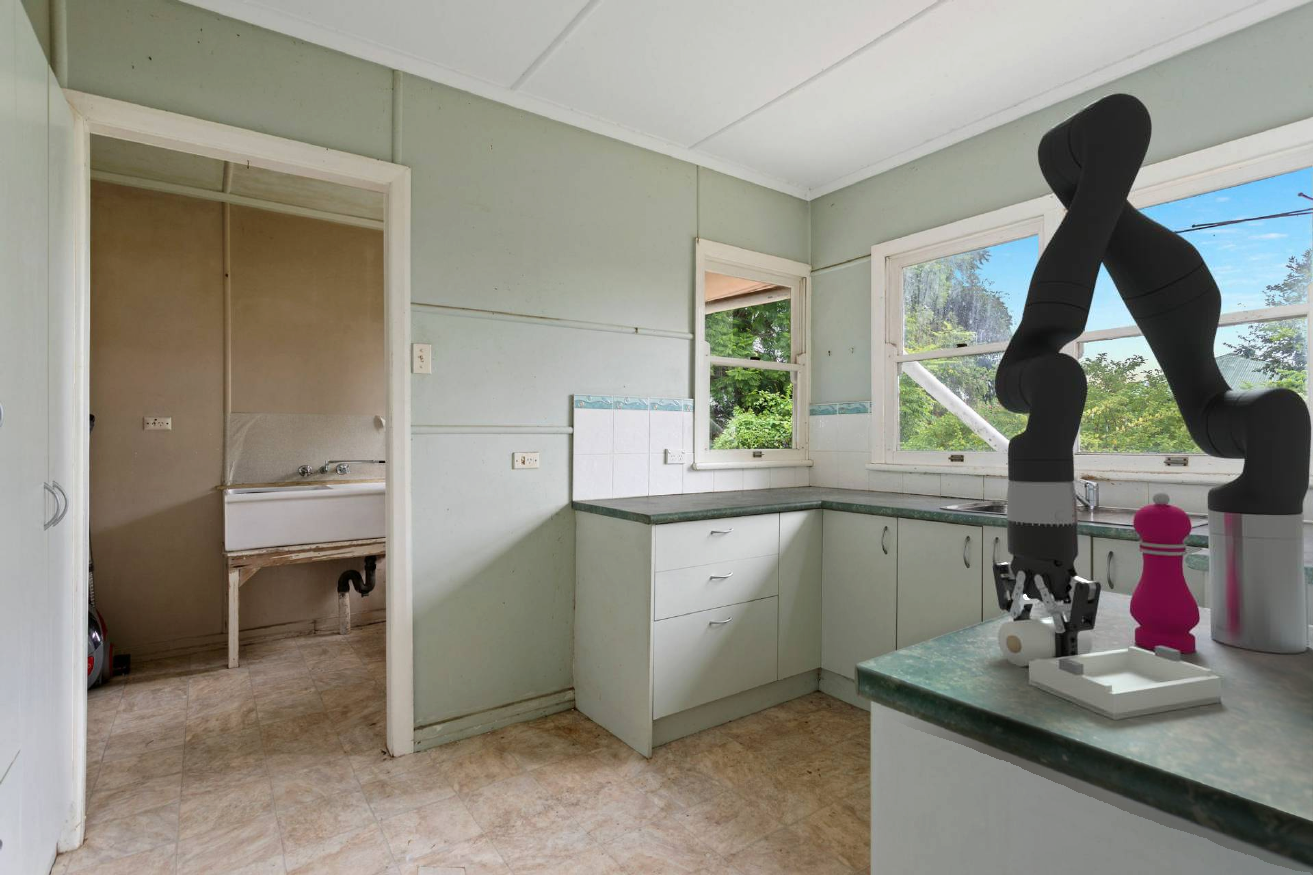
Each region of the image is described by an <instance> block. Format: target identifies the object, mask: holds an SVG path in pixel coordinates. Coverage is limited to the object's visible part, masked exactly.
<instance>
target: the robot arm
mask: <svg viewBox="0 0 1313 875" xmlns="http://www.w3.org/2000/svg"><path fill="white" fill-rule="evenodd" d="M1151 118H1152V117H1151V115H1150V113H1149V110H1148V108H1147V107H1146V106H1145V104H1144V103H1143V102H1142V101H1141V100H1140V99H1139V98H1137V97H1136V96H1134V95H1131V94H1129V93H1124V92H1115V93H1112V94H1108V95H1105V96H1103V97H1101V98H1099V99H1096V100H1095V101H1092V102H1091V103H1089V104H1088V105H1087V104H1086V106H1085V107H1083V108H1081V109H1079V110H1078V111H1076V112H1075V113H1073V114H1071V115H1070V116H1069V117H1067V118H1065V119H1064V120H1062V121H1060V122H1059V123H1057V124H1055V125H1054V126H1053V127H1051V128H1050V129H1049V130H1048V131H1046V132H1045V133H1044V134H1043V136H1042V138H1041V139H1040V140H1039V141H1040V142H1039V144H1038V147H1037V158H1038V159H1037V160H1038V161H1037V162H1038V165H1039V169H1040V171H1041V174H1042V176H1043V178H1044V180H1045V181H1046V183H1047V184H1048V186H1049V188H1050V189H1051V190H1052V192H1053V193H1054V195H1055V196H1056V198H1057V199H1058V201H1059V202H1060V204H1062V206H1063V207H1064V209H1065V210H1066V213H1065V215H1064V216H1063V219H1062V221H1061V222H1060V224H1059V226H1058V227H1057V229H1056V230H1055V232H1054V234H1053V235H1052V237H1051V238H1050V239H1049V242H1048V243H1047V245H1046V246H1045V248H1044V250H1043V252H1042V254H1041V255H1040V256H1039V259H1038V261H1037V264H1036V265H1035V268H1034V270H1033V273H1032V276H1031V280H1030V283H1029V286H1028V290H1027V294H1026V300H1025V303H1024V306H1023V307H1024V308H1023V310H1022V317H1021V321H1020V323H1019V325H1017V326H1018V327H1017V328H1016V330H1015V332H1014V333H1013V335H1012V337H1011V339H1010V341H1009V343H1008V345H1007V347H1006V349H1005V350H1004V353H1003V355H1002V357H1001V359H1000V361H999V363H998V365H997V369H996V372H995V377H994V392H995V397H996V399H997V401H998V402H999V404H1000V406H1002V408H1004V409H1005V410H1006V411H1008V412H1010V413H1013V414H1019V415H1020V414H1021V415H1026V414H1027V415H1028V420H1027V424H1026V427H1025V430H1024V431H1022V432H1020V433H1018V434H1016V435H1014V436H1013V437H1011V438H1010V439H1009V441H1008V446H1007V447H1008V448H1007V471H1008V472H1007V477H1008V481H1007V484H1008V486H1007V493H1006V534H1007V535H1006V536H1007V541H1006V542H1007V551H1008V553H1009V554H1010V555H1011V556H1012V560H1011V562H998V563H994V564H993V565H992V571H993V579H994V584H995V589H996V595H997V601H998V607H999V609H1000V610H1002V611H1006V612H1008V613H1009V616H1010V617H1011V618H1012V619H1013V620H1012V621H1021V620H1029V619H1032V618H1031V617H1032V616H1033V614H1034V611H1035V608H1036V605H1037V604H1038V603H1039V602H1041V603H1043V605H1044V607H1045V610H1046V613H1048V614H1049V615H1051V617H1052V618H1053V621H1054V624H1055V627H1056V630H1057V631H1058V632H1055V651H1056V658H1059V657H1066V656H1074V655H1078V648H1077V647H1078V639H1077V635H1078V633H1079V632H1080V631H1086V630H1089V631H1092V630H1094V629H1095V624H1096V620H1097V619H1096V618H1097V615H1098V607H1099V601H1100V598H1101V597H1100V596H1101V590H1102V584H1101V582H1099V581H1098V580H1087V579H1084V578H1082V577H1080V576H1079V575H1078V573H1077V571H1076V568H1075V560H1076V558H1077V557H1078V556H1079V530H1078V529H1079V523H1078V498H1077V497H1078V496H1077V492H1076V488H1075V487H1076V486H1075V464H1074V463H1075V462H1074V461H1075V460H1074V459H1075V458H1074V446H1075V443H1076V440H1077V436H1078V433H1079V430H1080V426H1081V422H1082V418H1083V414H1084V409H1085V406H1086V402H1087V396H1088V380H1087V376H1086V373H1085V370H1084V368H1083V367H1082V365H1081V364H1080V362H1079V361H1078V360H1077V359H1076V358H1075V357H1073V356H1072V355H1070V354H1067V353H1065V352H1064V353H1063V352H1061V350H1062V349H1063V348H1064V347H1065V346H1066V345H1067V344H1069V343H1071V342H1073V341H1075V340H1076V339H1078V338H1079V337H1080V336H1081V335H1083V333H1084V331H1085V328H1086V326H1087V322H1088V320H1089V318H1088V317H1089V314H1090V310H1091V307H1092V302H1093V297H1094V294H1095V290H1096V285H1097V280H1098V276H1099V273H1100V269H1101V266H1102V265H1103V266H1104V268H1105V270H1106V272H1107V273H1108V275H1109V277H1110V279H1111V280H1112V282H1113V284H1114V286H1115V288H1116V291H1117V292H1118V294H1119V296H1120V298H1121V299H1122V301H1123V303H1124V305H1125V307H1126V309H1127V311H1128V312H1129V314H1130V316H1131V317H1132V319H1133V321H1134V323H1135V324H1136V325H1137V327H1138V328H1139V330H1140V332H1141V333H1142V335H1143V336H1144V338H1145V341H1146V342H1147V345H1148V346H1149V348H1150V350H1151V351H1152V353H1153V355H1154V358H1155V359H1156V362H1157V363H1158V365H1159V366H1160V369H1161V371H1162V373H1163V375H1164V377H1165V380H1166V381H1167V383H1168V385H1169V388H1170V391H1171V393H1172V395H1173V398H1174V400H1175V402H1176V406H1177V408H1178V411H1179V412H1180V415H1181V418H1182V420H1183V423H1184V424H1185V427H1186V429H1187V432H1188V434H1189V436H1190V438H1192V440H1193V441H1194V443H1195V445H1196V446H1197V447H1198V448H1199V449H1200V450H1201V451H1202V452H1203V453H1205V454H1206V455H1208V456H1210V457H1214V458H1218V459H1226V460H1228V459H1229V460H1231V459H1232V460H1233V459H1235V460H1244V461H1243V462H1244V463H1243V468H1242V472H1241V474H1240V475H1239V476H1238V477H1237V478H1235V479H1234V480H1232V481H1231V480H1230V482H1227V483H1223V484H1220V485H1217V486H1215V487H1212V488H1210V489H1209V490H1208V492H1207V527H1208V528H1207V531H1208V533H1207V534H1208V565H1209V566H1208V568H1209V569H1208V570H1209V572H1208V573H1209V576H1208V577H1209V613H1210V616H1209V618H1210V637H1211V638H1212V639H1213V640H1215V641H1217V642H1220V643H1223V644H1225V645H1229V646H1233V647H1237V648H1242V649H1246V650H1251V651H1258V652H1266V653H1279V654H1298V653H1303V652H1306V651H1307V647H1308V646H1310V626H1309V625H1310V624H1309V591H1308V590H1309V589H1308V588H1309V585H1308V584H1309V583H1308V573H1307V572H1306V571H1305V546H1304V545H1305V544H1304V542H1305V541H1304V517H1303V516H1304V514H1303V512H1304V505H1303V504H1304V501H1305V498H1306V496H1307V493H1308V490H1309V485H1310V469H1311V467H1310V466H1311V450H1312V449H1311V448H1312V446H1311V445H1312V422H1311V421H1312V420H1311V419H1312V418H1311V416H1310V410H1309V408H1308V405H1307V403H1306V402H1305V400H1304V399H1303V398H1302V395H1300V393H1298V392H1296V391H1295V390H1293V389H1290V388H1287V387H1277V386H1275V387H1274V386H1273V387H1260V388H1257V387H1256V388H1247V389H1232V387H1231V386H1230V385H1229V384H1228V382H1227V380H1226V379H1225V377H1224V375H1223V374H1222V372H1221V370H1220V368H1219V365H1218V363H1217V361H1216V357H1215V348H1214V347H1215V340H1216V336H1217V332H1218V327H1219V322H1220V319H1221V318H1220V317H1221V312H1222V294H1221V291H1220V288H1219V286H1218V284H1217V282H1216V280H1215V278H1214V276H1213V275H1212V272H1211V271H1210V269H1209V267H1208V266H1207V264H1206V262H1205V260H1204V258H1203V256H1202V255H1201V253H1200V252H1199V250H1198V249H1197V248H1196V247H1195V246H1194V244H1192V243H1191V242H1189V241H1188V240H1187V239H1185V238H1184V237H1183V236H1181V234H1180V235H1179V233H1176V232H1175V231H1173V230H1171V229H1170V228H1168V227H1166V226H1164V225H1163V224H1162V223H1160V222H1157V221H1155V220H1154V219H1152V218H1150V217H1149V216H1147V215H1146V214H1144V213H1142V212H1141V211H1139V209H1137V208H1136V207H1135V206H1134V205H1133V204H1132V203H1131V202H1130V201H1129V200H1128V197H1129V195H1130V192H1131V189H1132V187H1133V185H1134V183H1135V181H1136V178H1137V176H1138V174H1139V172H1140V170H1141V167H1142V165H1143V162H1144V160H1145V157H1146V155H1147V153H1148V149H1149V146H1150V143H1151V138H1152V134H1153V133H1152V127H1153V126H1152V119H1151ZM1007 592H1008V593H1007ZM1008 595H1009V598H1008ZM1061 602H1063V603H1062V604H1058V603H1061ZM1064 616H1065V617H1066V620H1067V622H1065V619H1064Z"/></svg>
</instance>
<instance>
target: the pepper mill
mask: <svg viewBox="0 0 1313 875" xmlns="http://www.w3.org/2000/svg"><path fill="white" fill-rule="evenodd" d="M1170 500H1171V498H1170V495H1168V494H1167V493H1165V492H1164V491H1163V492H1162V491H1161V492H1160V491H1158V492H1156V493H1155V494H1153V496H1152V501H1153V503H1154V504H1148V505H1145V506H1143V507H1141V508H1140V509H1138V510H1137V512H1135V515H1134V517H1133V522H1132V523H1133V528H1134V531H1135V532H1136V533H1137V534H1138V536H1140V538H1141V540H1139V541H1138V542H1137V543H1138V545H1139V548H1138V551H1139V553H1142V561H1143V562H1142V563H1143V564H1142V565H1143V566H1142V573H1141V576H1140V578H1139V582H1138V583H1137V586H1135V590H1134V591H1133V593H1132V594H1131V598H1130V603H1129V613H1130V616H1131V617H1132V618H1133V619H1134V620H1135V621H1136V623H1137V624H1138V625H1139V626H1137V627H1136V628H1134V642H1135V643H1136V644H1137V645H1139V646H1140V647H1142V648H1146V649H1148V650H1151V651H1152V650H1153V651H1155V646H1165V647H1168V648H1172V649H1175V650H1179V651H1180V654H1189V653H1193V652H1195V651H1196V636H1195V635H1194V634H1192V633H1191V631H1192V630H1193V629H1194V628H1195V627H1196V626H1198V624H1199V622H1200V619H1201V615H1200V609H1199V606H1198V603H1197V601H1196V599H1195V598H1194V595H1193V594H1192V592H1191V590H1190V588H1189V586H1188V584H1187V582H1186V578H1185V575H1184V568H1183V561H1184V556H1185V555H1187V554H1188V551H1187V549H1186V548H1187V546H1188V544H1187V543H1185V542H1184V540H1185V539H1186V538H1187V537H1188V536H1189V535H1190V534H1191V532H1192V523H1191V522H1192V520H1191V518H1190V516H1189V515H1188V514H1187V512H1186V511H1185V510H1183V509H1182V508H1179V507H1177V506H1175V505H1171V504H1169V503H1170Z"/></svg>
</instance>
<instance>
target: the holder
mask: <svg viewBox="0 0 1313 875" xmlns="http://www.w3.org/2000/svg"><path fill="white" fill-rule="evenodd" d="M1028 677H1029V678H1028V679H1029V680H1028V682H1029V685H1030V686H1033V687H1035V688H1038V689H1039V690H1040V689H1041V690H1043V691H1045V692H1046V693H1049V694H1051V695H1054V696H1057V697H1059V698H1061V699H1064V700H1066V701H1069V703H1073V704H1075V705H1078V706H1080V707H1083V708H1085V709H1087V710H1090V711H1092V712H1094V713H1096V714H1099V715H1101V716H1104V717H1106V718H1108V719H1110V720H1113V721H1118V720H1122V719H1128V718H1129V719H1130V718H1134V717H1135V718H1136V717H1141V716H1146V715H1152V714H1153V715H1154V714H1158V713H1159V714H1160V713H1164V712H1169V711H1176V710H1182V709H1189V708H1193V707H1200V706H1205V705H1211V704H1216V703H1221V702H1222V686H1221V684H1222V683H1221V682H1222V681H1221V677H1220V676H1217V675H1214V674H1213V670H1212V669H1210V668H1207V667H1203V666H1200V665H1196V664H1193V663H1191V662H1186V661H1183V660H1181V653H1180V651H1179V650H1175V649H1172V648H1168V647H1165V646H1155V650H1154V652H1153V651H1152V650H1151V651H1150V650H1146V649H1143V648H1141V647H1138V646H1133V645H1132V646H1128V647H1127V648H1120V649H1114V650H1113V649H1111V650H1106V651H1097V652H1090V653H1089V654H1082V655H1074V656H1066V657H1059V658H1051V659H1044V660H1043V659H1041V658H1040V659H1035V661H1029V666H1028Z"/></svg>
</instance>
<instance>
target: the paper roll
mask: <svg viewBox="0 0 1313 875" xmlns="http://www.w3.org/2000/svg"><path fill="white" fill-rule="evenodd" d="M1063 616H1064V619H1065V622H1067V620H1066V617H1065V615H1063ZM1055 632H1058V631H1057V630H1056V627H1055V624H1054V621H1053V618H1052V616H1049V617H1041V618H1031V619H1029V620H1021V621H1013V620H1011V621H1006V622H1004V623H1002V625H1001V626H1000V628H999V629H998V633H997V642H998V646H999V650H1000V652H1001V653H1002V656H1003V657H1004V658H1005V659H1006V661H1007V662H1009V663H1010V664H1012V665H1015V666H1017V667H1029V661H1035V659H1040V658H1041V659H1043V660H1044V659H1051V658H1056V651H1055ZM1077 639H1078V647H1077V648H1078V655H1082V654H1089V653H1091V651H1092V647H1093V639H1092V635H1091V633H1090V630H1086V631H1080V632H1079V633H1078V635H1077Z"/></svg>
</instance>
